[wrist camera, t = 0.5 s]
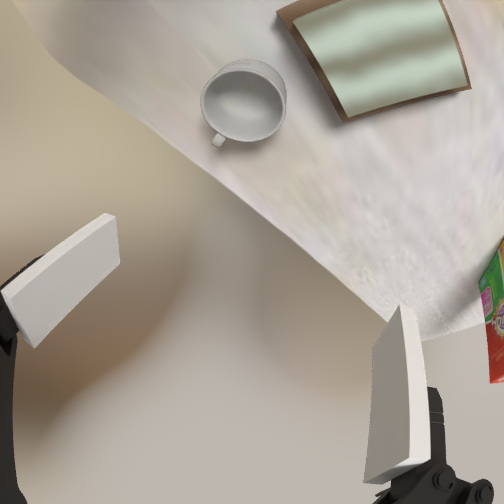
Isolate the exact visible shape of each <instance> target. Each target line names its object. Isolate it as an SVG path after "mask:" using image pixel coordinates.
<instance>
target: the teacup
mask: <svg viewBox="0 0 504 504" xmlns="http://www.w3.org/2000/svg"><path fill="white" fill-rule="evenodd" d="M286 97H287V94H286V87H285V84H284V81H283V79H282V78H281V76H280V75H279V73H278V72H277V71H276V70H275V69H274V68H272V67H271V66H270V65H268V64H266V63H264V62H261V61H258V60H252V59H244V60H238V61H235V62H232V63H230V64H228V65H226V66H225V67H223V68H222V69H221V70H220V71H219V72H218V73H217V74H216V75H215V76H214V77H213V78H212V79H210V80H209V82H208V83H207V84H206V86H205V87H204V89H203V92H202V95H201V109H202V113H203V115H204V117H205V119H206V121H207V122H208V123H209V125H210V126H211V127H212V128H213V129H215V130H216V131H217V133H216V134H215V136H214V138H213V139H212V141H211V143H212V145H213V146H215V147H221V146H222V144H223V143H224V141H225V140H226V138H230V139H233V140H237V141H241V142H254V141H259V140H263V139H265V138H267V137H269V136H271V135H272V134H274V133H275V132H276V131H277V130H278V129H279V128H280V126H281V125H282V123H283V121H284V118H285V114H286Z"/></svg>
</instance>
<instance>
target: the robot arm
mask: <svg viewBox="0 0 504 504" xmlns="http://www.w3.org/2000/svg"><path fill="white" fill-rule="evenodd" d="M119 264H120V256H119V247H118V236H117V223H116V216H113V215H109V214H106V213H104V214H102V215H101V216H99V217H98V218H97V219H95V220H93V221H92V222H90V223H89V224H87V225H86V226H84V227H83V228H81V229H80V230H78V231H77V232H76V233H74V234H73V235H71V236H70V237H68V238H67V239H66V240H64V241H63V242H61V243H60V244H59V245H57V246H56V247H55V248H53V249H52V250H51V251H49V252H48V253H47V254H44V255H42V256H40V257H37V258H35V259H34V260H32V261H31V262H30V263H28V264H27V266H26V267H23V268H22V269H21V270H20V272H19V271H18V272H17V273H16V274H15V275H13V276H12V277H11V278H10V279H9V280H7V281H6V282H5V283H4V284H3V285H1V287H0V504H27V501H26V499H25V497H24V496H23V494H22V493H21V491H20V490H19V488H18V484H17V477H16V469H15V460H14V447H13V426H12V423H13V422H12V405H13V380H14V367H15V357H16V349H17V335H16V333H17V332H18V331H20V333H21V335H22V337H23V339H24V340H25V341H26V342H27V343H28V344H30V345H31V346H32V347H33V348H35V347H36V346H37V345H38V344H39V343H40V342H41V341H42V340H43V339H44V338H45V337H46V336H47V334H49V333H50V331H51V330H52V329H53V328H54V327H55V326H56V325H57V324H58V323H59V322H60V321H61V320H62V319H63V318H64V317H65V316H66V315H67V314H68V313H69V312H70V311H71V310H72V309H73V308H74V307H75V306H76V305H77V304H78V303H79V302H80V301H81V300H82V299H83V298H84V297H85V296H86V295H87V294H88V293H89V292H90V291H91V290H92V289H93V288H94V287H96V286H97V285H98V284H99V283H100V282H101V281H102V280H103V279H104V278H105V277H106V276H107V275H108V274H109V273H110V272H112V271H113V270H114V269H115V268H116V267H117V266H118V265H119ZM372 351H373V352H372V353H373V354H372V358H373V359H372V360H373V361H372V395H371V413H370V427H369V428H370V429H369V438H368V448H367V457H366V466H365V473H364V480H363V483H370V484H384V483H386V482H388V481H390V480H391V487H390V488H388V489H386V490H384V491H381V492H379V493H378V494H376V495H375V496H376V497H378V496H380V497H379V498H378V499H377V500H376V501H375V502H374V503H373V504H492V501H493V496H494V490H493V486H492V484H491V483H490V482H489V481H488V480H486V479H481V480H478V481H476V482H474V483H469V482H466V481H464V480H461V479H458V478H456V475H455V472H454V470H453V469H452V467H450V466H449V465H447V463H446V447H445V446H446V445H445V429H444V425H443V423H444V416H443V415H442V414H443V407H442V399H441V397H440V395H439V393H438V391H437V389H436V388H432V387H427V383H426V375H425V367H424V359H423V353H422V346H421V340H420V334H419V328H418V323H417V318H416V313H415V309H414V308H411V307H407V306H404V305H400V304H399V306H398V308H397V309H396V311H395V313H394V314H393V316H392V317H391V319H390V321H389V322H388V324H387V326H386V327H385V329H384V330H383V332H382V333H381V335H380V337H379V338H378V340H377V341H376V343H375V344H374V345H373V347H372Z"/></svg>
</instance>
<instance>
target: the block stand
mask: <svg viewBox="0 0 504 504" xmlns="http://www.w3.org/2000/svg"><path fill="white" fill-rule="evenodd" d="M276 13H277V14H278V15H279V17H280V18H281V20H282V21H283V23H284V24H285V25H286V27H287V28H288V30H289V31H290V33H291V34H292V36H293V37H294V39H295V40H296V42H297V43H298V45H299V47H300V48H301V50H302V51H303V53H304V54H305V56H306V58H307V59H308V61H309V63H310V64H311V66H312V68H313V69H314V71H315V73H316V74H317V76H318V78H319V79H320V81H321V83H322V85H323V87H324V88H325V90H326V92H327V94H328V96H329V97H330V99H331V101H332V103H333V105H334V107H335V109H336V111H337V112H338V114H339V116H340V118H341V120H342V122H343V123H346V122H349V121H352V120H355V119H358V118H361V117H364V116H368V115H371V114H374V113H378V112H381V111H384V110H388V109H391V108H395V107H398V106H402V105H406V104H409V103H413V102H417V101H421V100H425V99H429V98H433V97H437V96H441V95H445V94H450V93H454V92H459V91H464V90H469V89H472V88H471V84H470V80H469V76H468V72H467V69H466V65H465V62H464V58H463V55H462V52H461V49H460V45H459V42H458V40H457V37H456V34H455V31H454V28H453V26H452V23H451V20H450V18H449V15H448V13H447V11H446V8H445V6H444V4H443V1H442V0H299V1H297V2H294V3H292V4H290V5H288V6H286V7H284V8H282V9H279V10H278V11H276Z"/></svg>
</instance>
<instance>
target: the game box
mask: <svg viewBox="0 0 504 504" xmlns="http://www.w3.org/2000/svg"><path fill="white" fill-rule="evenodd" d="M479 288H480V293H481V299H482V305H483V311H484V318H485V324H486V333H487V342H488V355H489V374H490V383H500V382H504V240H503V241H502V243H501V245H500V247H499V249H498V251H497V253H496V254H495V256H494V258H493V260H492V261H491V263H490V265H489V266H488V268H487V270H486V272H485V273H484V275H483V276H482V278H481V280H480V281H479Z"/></svg>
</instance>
